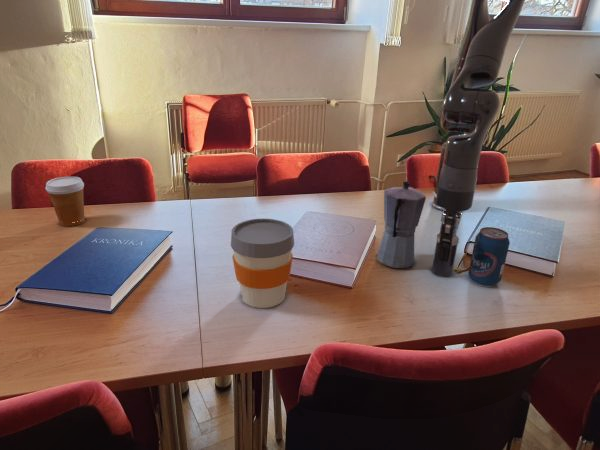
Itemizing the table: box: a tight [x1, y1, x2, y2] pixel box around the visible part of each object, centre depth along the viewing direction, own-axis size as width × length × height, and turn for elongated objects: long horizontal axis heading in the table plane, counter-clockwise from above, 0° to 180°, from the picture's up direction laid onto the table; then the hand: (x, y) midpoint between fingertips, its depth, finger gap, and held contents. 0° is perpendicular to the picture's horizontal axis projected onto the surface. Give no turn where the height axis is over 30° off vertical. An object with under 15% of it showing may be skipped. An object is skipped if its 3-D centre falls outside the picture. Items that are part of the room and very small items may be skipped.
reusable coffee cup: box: [230, 218, 295, 309], centre depth 89 cm, size 13×13×15 cm
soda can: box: [468, 226, 511, 288], centre depth 98 cm, size 7×7×12 cm
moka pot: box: [376, 180, 427, 269], centre depth 103 cm, size 10×15×20 cm, turn 161°
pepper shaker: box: [431, 232, 460, 277], centre depth 102 cm, size 5×5×9 cm
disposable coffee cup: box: [44, 176, 86, 227], centre depth 122 cm, size 10×10×12 cm
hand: (444, 255), depth 102 cm, fingers closed on pepper shaker, 5 cm apart
